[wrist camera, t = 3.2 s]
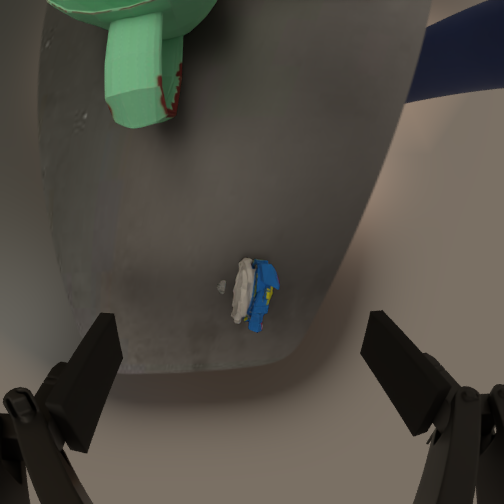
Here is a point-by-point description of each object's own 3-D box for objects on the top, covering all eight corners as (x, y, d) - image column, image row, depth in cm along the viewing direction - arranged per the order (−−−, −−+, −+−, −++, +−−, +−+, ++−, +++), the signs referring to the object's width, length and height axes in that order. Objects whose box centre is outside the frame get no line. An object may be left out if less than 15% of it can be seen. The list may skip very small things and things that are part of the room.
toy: (256, 310, 23) (265, 347, 18) (211, 302, 22) (209, 340, 18) (271, 249, 22) (285, 275, 17) (223, 240, 21) (223, 265, 16)
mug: (109, -19, 14) (61, -85, 4) (235, -39, 14) (244, -123, 5) (106, 149, 18) (22, 151, 9) (248, 130, 19) (270, 107, 9)
